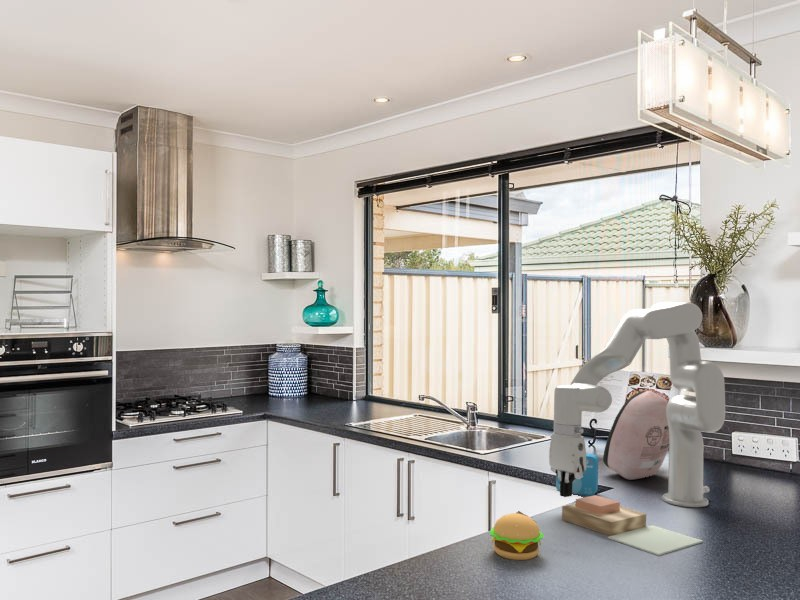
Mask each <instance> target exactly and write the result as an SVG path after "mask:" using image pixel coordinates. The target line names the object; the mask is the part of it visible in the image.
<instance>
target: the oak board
mask: <svg viewBox="0 0 800 600" xmlns="http://www.w3.org/2000/svg"><path fill="white" fill-rule="evenodd" d="M561 520H562V521H565V522H567V523H570V524H574V525H576V526H580V527H582V528H586V529H588V530H591V531H595V532H597V533H600V534H603V535H606V536H608V537H609V536H613V535H617V534H621V533H624V532H628V531H632V530H636V529H640V528H644V527H647V513H644V512H642V511H638V510H634V509H632V508H627V507H624V506H621V505H620V510H617V511H612V512H608V513H604V514H597V513H594V512H591V511H588V510H585V509H581V508H578V507H576V503H572V504H567V505H562V507H561Z"/></svg>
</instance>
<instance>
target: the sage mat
mask: <svg viewBox="0 0 800 600" xmlns="http://www.w3.org/2000/svg"><path fill="white" fill-rule="evenodd" d="M607 538H608V539H609V540H612V541H615V542H617V543H620V544H624V545H626V546H629V547H632V548H636V549H638V550H641V551H643V552H647V553H650V554H652V555H656V556H658V557H659V556H661V555H666V554H669V553H671V552H675V551H678V550H681V549H682V550H683V549H684V548H689V547H691V546H694V545H695V546H696V545H698V544H701V543H703V542H704V541H703V539H699V538H697V537H696V538H695V537H692V536H689V535H686V534H683V533H679V532H676V531H673V530H669V529H667V528H664V527H660V526H658V525H657V526H656V525H654V524H652V525H648V526H647V525H646V527H644V528H640V529H636V530H632V531H628V532H624V533H621V534H617V535H613V536H609V535H608V537H607Z"/></svg>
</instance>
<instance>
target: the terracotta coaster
mask: <svg viewBox="0 0 800 600" xmlns="http://www.w3.org/2000/svg"><path fill="white" fill-rule="evenodd" d="M575 504H576V507H578V508H581V509H585V510H588V511H591V512H594V513H597V514H604V513H608V512H612V511H617V510H620V506H621V503H620V501H616V500H614V499H610V498H606V497H603V496H599V495H596V494H594V495H593V496H585V497H584V496H583V497H580V498H575Z"/></svg>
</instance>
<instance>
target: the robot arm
mask: <svg viewBox="0 0 800 600" xmlns="http://www.w3.org/2000/svg"><path fill="white" fill-rule="evenodd" d="M702 322H703V312H702V310H701V309H700V307H699V306H698V305H697V304H695V303H694V302H687V301H678V302H676V301H673V302H672V301H664V302H657V303H656V304H653V305H652V306H651V307H650V308H638V309H631V310H629V311H628V312H627V313H625V314H624V316H623V317H622V318H621V320H620V321H619V324H618V325H617V327H616V328H615V330H614V332H613V333H612V335H611V336H610V338H609V339H608V341H607V343H606V344H605V346H604V347H603V348H602V349H601V350H600V351H599V352H598V353H596V354H595V355H594V356H593V357H592V358H590V359H589V360H588V361H586V362H585V364H583V365H582V366H581V367H580V368H579V370H578V371H577V373H576V374H575V376H574V377H573V379H572V381H571V382H570V384H560V385H559V384H558V385H556V386H555V388H554V393H553V394H554V396H553V397H554V398H553V399H554V401H553V432H552V434H551V437H550V443H549V452H548V454H549V455H548V460H549V461H548V463H549V466H550V471H551V472H553V473H554V474H555V475H556V474H557V476H558V480H559V481H560V492H559V496H560V497H563V498H568V497H572V496H573V494H572V482H574V481H575V479H576V478H582V477H583V472H584V471H586V453H587V449H586V442H585V436H583V435H582V434H583V433H584V428H582V416H583V415H582V413H583V412H589V413H602V412H605V411H607V410H608V409H609V408H610V407H611V405H612V402H613V399H612V394H611V392H610V391H609V390H608V388H606V387H603V386H601V385H599V384H600V383H601V381H602V380H603V379H604V378H606V377H607V376H609V375H611V374H612V373H615V372H618V371H620V370H623V369H625V368H626V367H628V366H629V367H630V365H631V364H632V363H633V361H634V359H635V357H636V356H637V354H638V353H639V351H640V349H641V348H642V346H643V344H644V342H645V341H646V340H662V339H666V340H667V343H668V350H669V375H670V376H669V378H670V383H671V384H672V386H673V387H674V388H676V389H678V390H681V391H684V392H689V393H694V394H695V396H694V395H688V394H679V395H675V396H673V397H671V398H670V399H669V401H667V403H668V404H667V407H666V416H667V422H668V427H669V448H668V482H667V483H668V488H667V490H668V491H667V492H666V493H663V495H662V500H663V501H664V502H666V503H668V504H671V505H674V506H675V505H676V506H679V507H686V508H703V507H707V506H708V505H709V499H707V498H706V497H704V494H706V493H709V492H710V487H709V486H708V485H704V450H705V448H704V447H705V446H704V445H705V444H704V439H703V434H702V432H703V433H716V432H718V431H719V430H720V429H722V427H723V426H724V423H725V419H726V388H725V386H726V384H725V377H724V373H723V371H722V369H721V368H720V367H719V365H717V364H716V363H715V362H712V361H710V360H709V361H708V360H702V357H701V347H700V346H701V345H700V340H699V337H698V335H697V332H696V331H695V330H697V329H698V328H699V327H700V326H701V324H702ZM570 474H571V475H570Z"/></svg>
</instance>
